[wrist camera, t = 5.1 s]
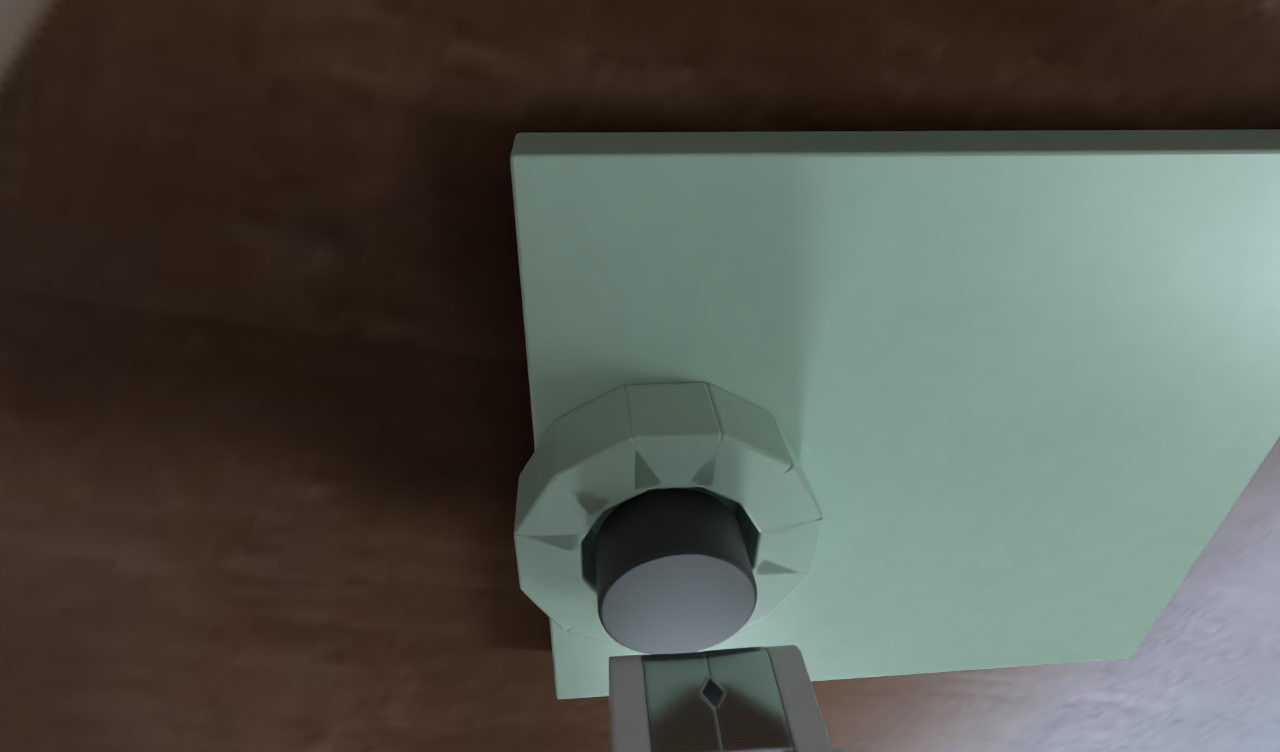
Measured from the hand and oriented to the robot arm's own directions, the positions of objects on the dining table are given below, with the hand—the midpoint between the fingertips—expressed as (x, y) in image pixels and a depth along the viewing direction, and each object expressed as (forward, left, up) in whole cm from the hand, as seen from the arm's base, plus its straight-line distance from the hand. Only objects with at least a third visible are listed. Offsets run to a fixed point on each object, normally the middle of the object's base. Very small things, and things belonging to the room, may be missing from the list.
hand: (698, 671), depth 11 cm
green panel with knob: (+5, 0, -5) cm, 8 cm away
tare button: (0, 0, -3) cm, 3 cm away
